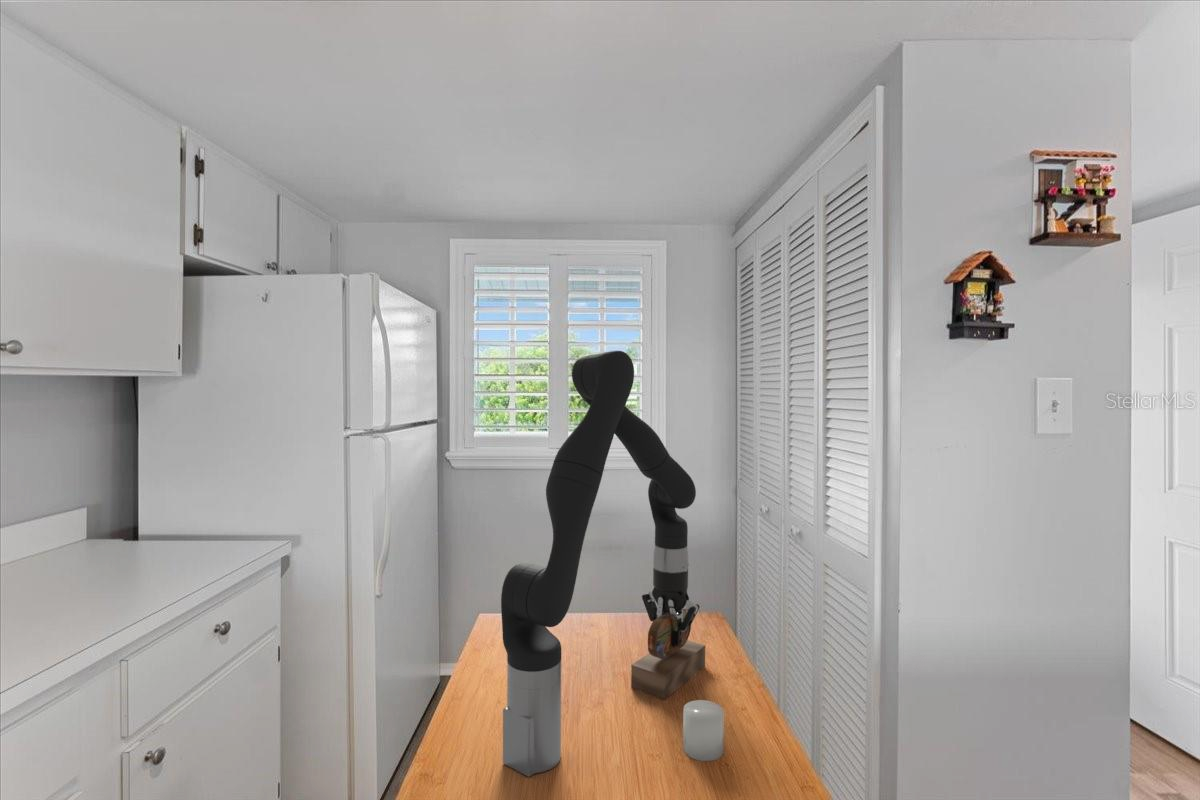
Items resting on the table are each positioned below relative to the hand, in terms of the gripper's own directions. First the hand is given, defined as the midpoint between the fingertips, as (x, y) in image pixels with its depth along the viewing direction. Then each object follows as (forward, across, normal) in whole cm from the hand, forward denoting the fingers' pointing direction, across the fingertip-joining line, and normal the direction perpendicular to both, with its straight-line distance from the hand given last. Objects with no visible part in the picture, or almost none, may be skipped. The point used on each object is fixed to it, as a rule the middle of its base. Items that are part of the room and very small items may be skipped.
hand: (669, 643), depth 136 cm
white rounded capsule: (+8, +18, -19) cm, 27 cm away
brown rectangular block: (+7, 0, 0) cm, 7 cm away
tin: (+2, 0, 0) cm, 2 cm away
